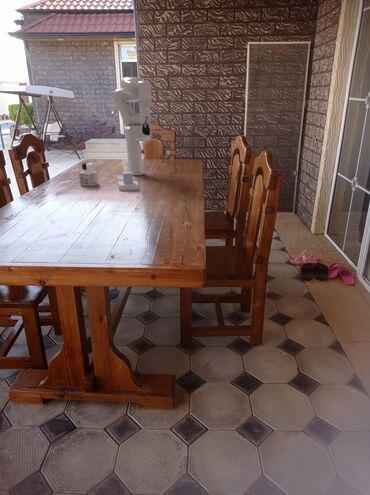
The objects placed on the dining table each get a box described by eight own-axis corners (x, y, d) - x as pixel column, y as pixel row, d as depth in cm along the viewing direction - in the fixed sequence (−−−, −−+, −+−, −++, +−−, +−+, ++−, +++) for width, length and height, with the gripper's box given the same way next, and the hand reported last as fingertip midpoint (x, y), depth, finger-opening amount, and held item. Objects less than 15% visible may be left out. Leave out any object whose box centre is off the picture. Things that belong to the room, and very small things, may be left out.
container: (80, 185, 223) (77, 163, 218) (88, 182, 229) (86, 161, 225) (90, 186, 220) (88, 164, 215) (98, 184, 226) (96, 162, 221)
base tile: (118, 186, 220) (117, 181, 218) (136, 185, 222) (136, 180, 221) (119, 190, 210) (119, 185, 209) (139, 189, 212) (138, 184, 211)
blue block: (123, 182, 216) (122, 172, 214) (132, 182, 217) (131, 171, 215) (124, 184, 212) (123, 173, 210) (132, 183, 213) (132, 173, 211)
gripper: (136, 103, 225) (138, 133, 231) (140, 104, 209) (141, 135, 216) (149, 103, 227) (150, 133, 233) (153, 104, 211) (154, 135, 218)
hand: (146, 134), depth 225 cm, fingers open, 9 cm apart
